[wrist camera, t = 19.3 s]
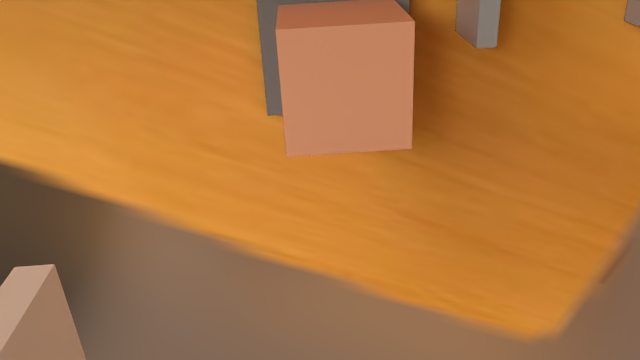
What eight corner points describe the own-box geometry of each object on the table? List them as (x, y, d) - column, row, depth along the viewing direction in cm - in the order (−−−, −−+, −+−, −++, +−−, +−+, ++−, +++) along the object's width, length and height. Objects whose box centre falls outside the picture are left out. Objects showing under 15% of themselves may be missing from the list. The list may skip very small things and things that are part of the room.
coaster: (268, 110, 33) (267, 115, 32) (254, -35, 29) (253, -34, 29) (404, 102, 33) (406, 106, 32) (407, -44, 29) (410, -42, 29)
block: (287, 113, 32) (286, 157, 27) (278, 5, 30) (275, 29, 24) (391, 106, 32) (411, 148, 27) (392, -3, 30) (415, 21, 24)
